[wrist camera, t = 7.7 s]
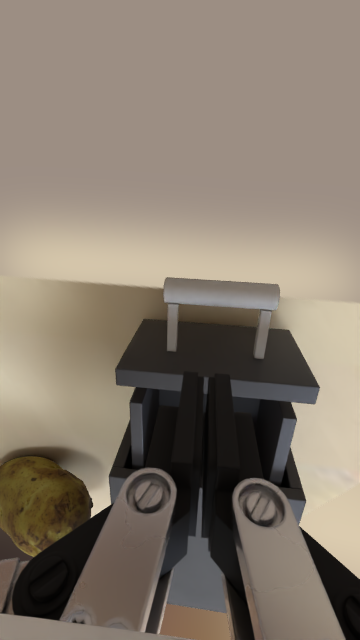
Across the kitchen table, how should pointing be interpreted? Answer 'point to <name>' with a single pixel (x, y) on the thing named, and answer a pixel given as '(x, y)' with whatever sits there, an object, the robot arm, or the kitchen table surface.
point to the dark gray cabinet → (197, 566)
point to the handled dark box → (219, 367)
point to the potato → (40, 502)
